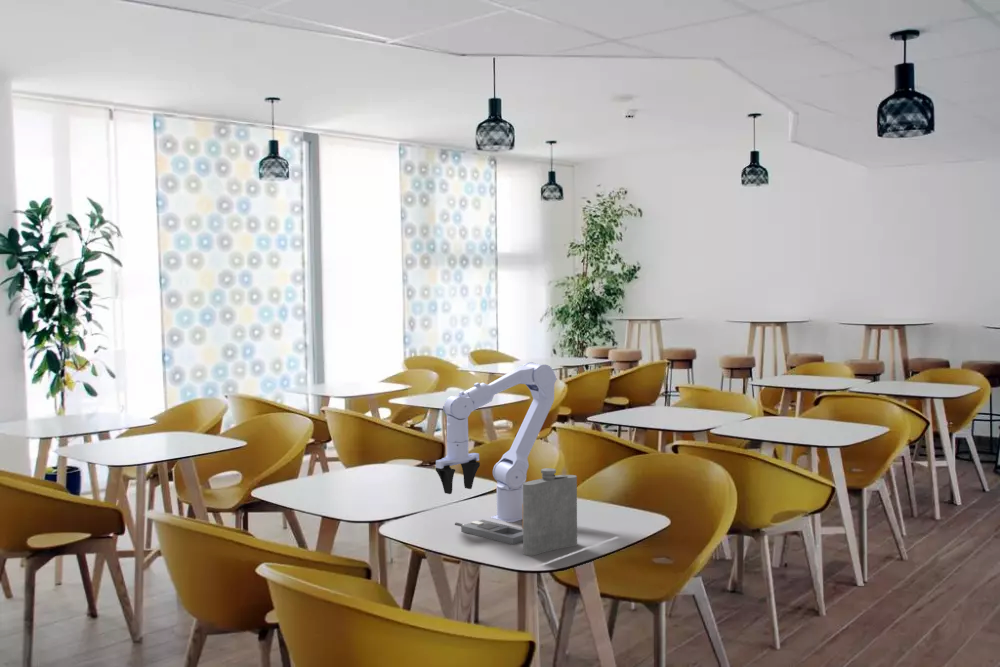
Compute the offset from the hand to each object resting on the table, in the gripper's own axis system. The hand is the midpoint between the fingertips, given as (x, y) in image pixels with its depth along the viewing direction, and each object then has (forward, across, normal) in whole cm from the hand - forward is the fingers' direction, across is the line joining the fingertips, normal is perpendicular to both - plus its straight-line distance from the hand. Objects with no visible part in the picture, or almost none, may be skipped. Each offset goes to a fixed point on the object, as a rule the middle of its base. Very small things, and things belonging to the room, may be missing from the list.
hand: (458, 490), depth 241 cm
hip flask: (+10, +2, +33) cm, 35 cm away
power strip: (+9, +1, +12) cm, 15 cm away
